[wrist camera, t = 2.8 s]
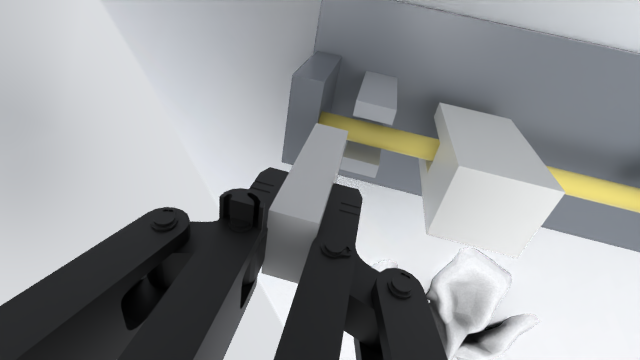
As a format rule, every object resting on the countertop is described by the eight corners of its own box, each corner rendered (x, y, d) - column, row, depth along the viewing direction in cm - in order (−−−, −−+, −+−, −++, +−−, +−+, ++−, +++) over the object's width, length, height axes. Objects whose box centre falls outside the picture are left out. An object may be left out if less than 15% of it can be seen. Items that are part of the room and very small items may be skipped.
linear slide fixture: (300, 156, 27) (269, 213, 20) (327, -14, 20) (295, -7, 14) (664, 249, 25) (753, 343, 18) (828, 94, 18) (1055, 159, 12)
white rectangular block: (418, 156, 21) (426, 234, 15) (439, 102, 19) (459, 165, 13) (482, 172, 21) (517, 258, 14) (510, 119, 19) (565, 192, 12)
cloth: (370, 370, 42) (366, 425, 37) (309, 265, 34) (293, 317, 29) (581, 362, 34) (614, 432, 28) (565, 221, 26) (606, 283, 21)
